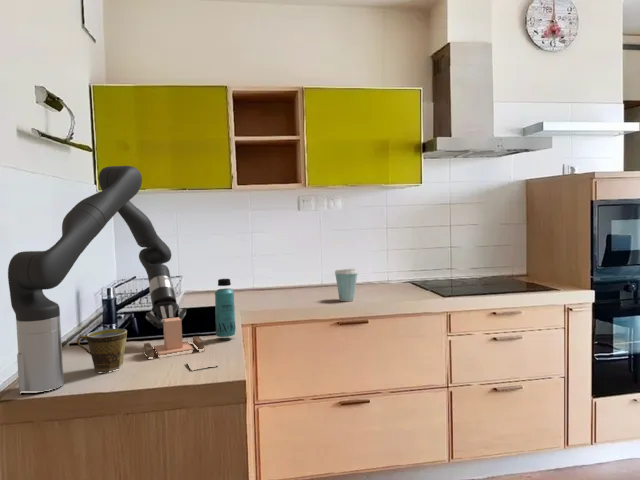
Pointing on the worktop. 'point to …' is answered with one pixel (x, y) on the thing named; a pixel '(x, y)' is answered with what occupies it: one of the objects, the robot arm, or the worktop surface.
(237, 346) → the worktop surface
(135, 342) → the worktop surface
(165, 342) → the footed block
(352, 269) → the disposable coffee cup
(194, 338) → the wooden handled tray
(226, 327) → the beverage bottle
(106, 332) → the ceramic cup
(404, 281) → the worktop surface
